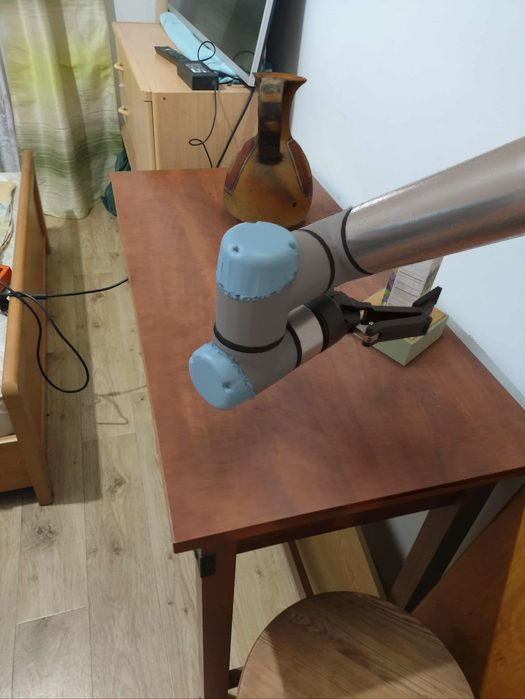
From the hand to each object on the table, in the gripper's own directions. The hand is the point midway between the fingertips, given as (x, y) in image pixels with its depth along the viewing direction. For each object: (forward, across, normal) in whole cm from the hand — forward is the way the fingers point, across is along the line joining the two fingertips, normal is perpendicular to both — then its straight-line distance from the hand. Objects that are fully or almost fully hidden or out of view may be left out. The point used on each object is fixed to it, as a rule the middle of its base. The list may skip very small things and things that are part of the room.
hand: (397, 273), depth 75 cm
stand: (+7, 0, -15) cm, 16 cm away
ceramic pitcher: (+18, -43, -15) cm, 49 cm away
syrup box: (+7, 0, -10) cm, 12 cm away
